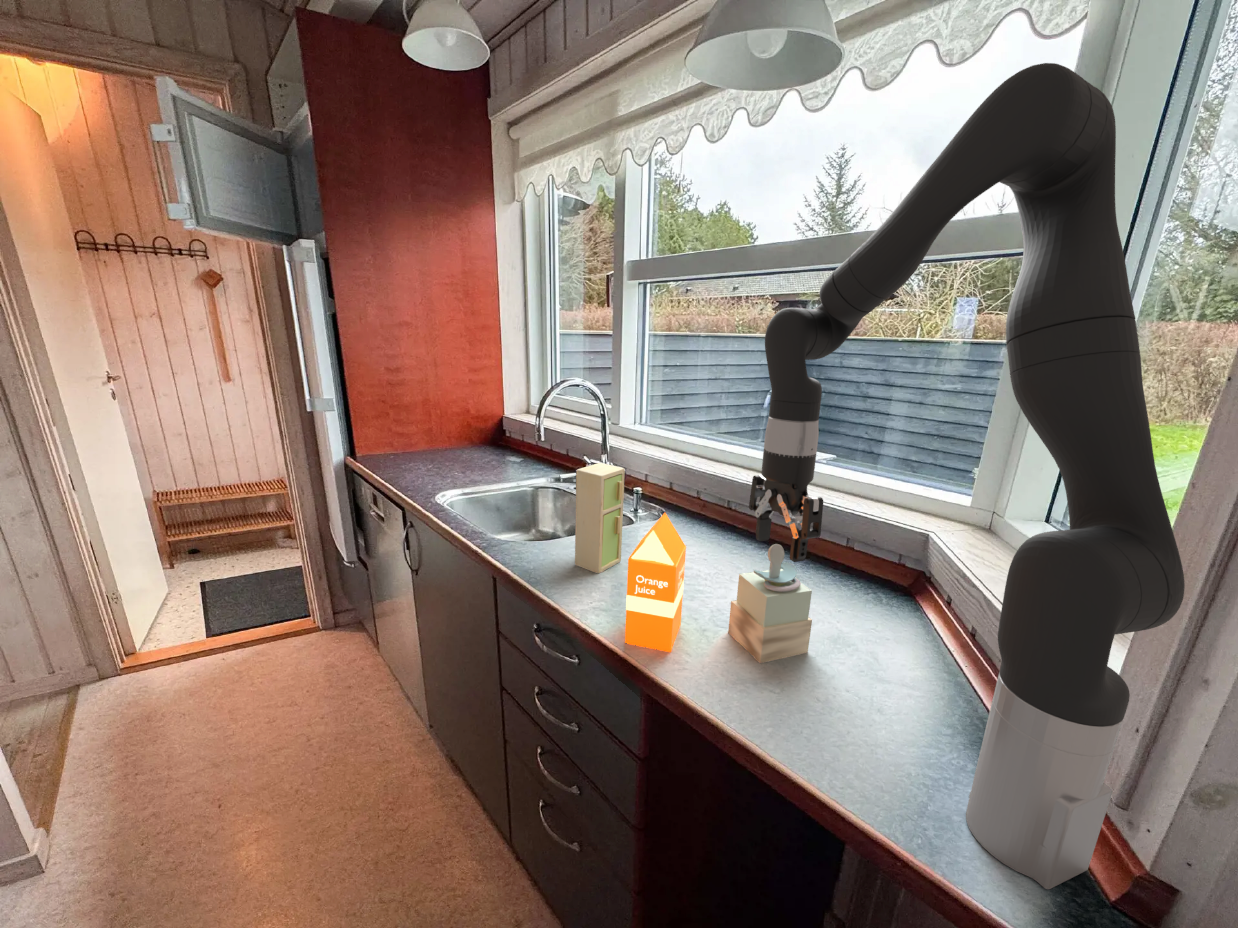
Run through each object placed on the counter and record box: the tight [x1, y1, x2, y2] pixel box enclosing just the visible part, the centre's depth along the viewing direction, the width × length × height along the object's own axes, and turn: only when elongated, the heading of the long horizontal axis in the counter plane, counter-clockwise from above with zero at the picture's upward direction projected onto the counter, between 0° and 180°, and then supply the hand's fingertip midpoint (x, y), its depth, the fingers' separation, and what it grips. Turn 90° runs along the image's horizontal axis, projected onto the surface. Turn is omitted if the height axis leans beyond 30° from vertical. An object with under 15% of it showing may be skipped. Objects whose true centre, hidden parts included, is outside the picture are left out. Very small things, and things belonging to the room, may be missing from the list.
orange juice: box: [624, 512, 687, 653], centre depth 87 cm, size 8×9×20 cm
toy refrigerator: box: [574, 462, 626, 574], centre depth 112 cm, size 8×7×21 cm
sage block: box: [736, 569, 813, 627], centre depth 86 cm, size 8×8×5 cm
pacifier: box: [753, 543, 802, 592], centre depth 84 cm, size 7×6×6 cm
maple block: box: [727, 599, 813, 664], centre depth 88 cm, size 9×9×6 cm
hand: (778, 549), depth 84 cm, fingers open, 8 cm apart
